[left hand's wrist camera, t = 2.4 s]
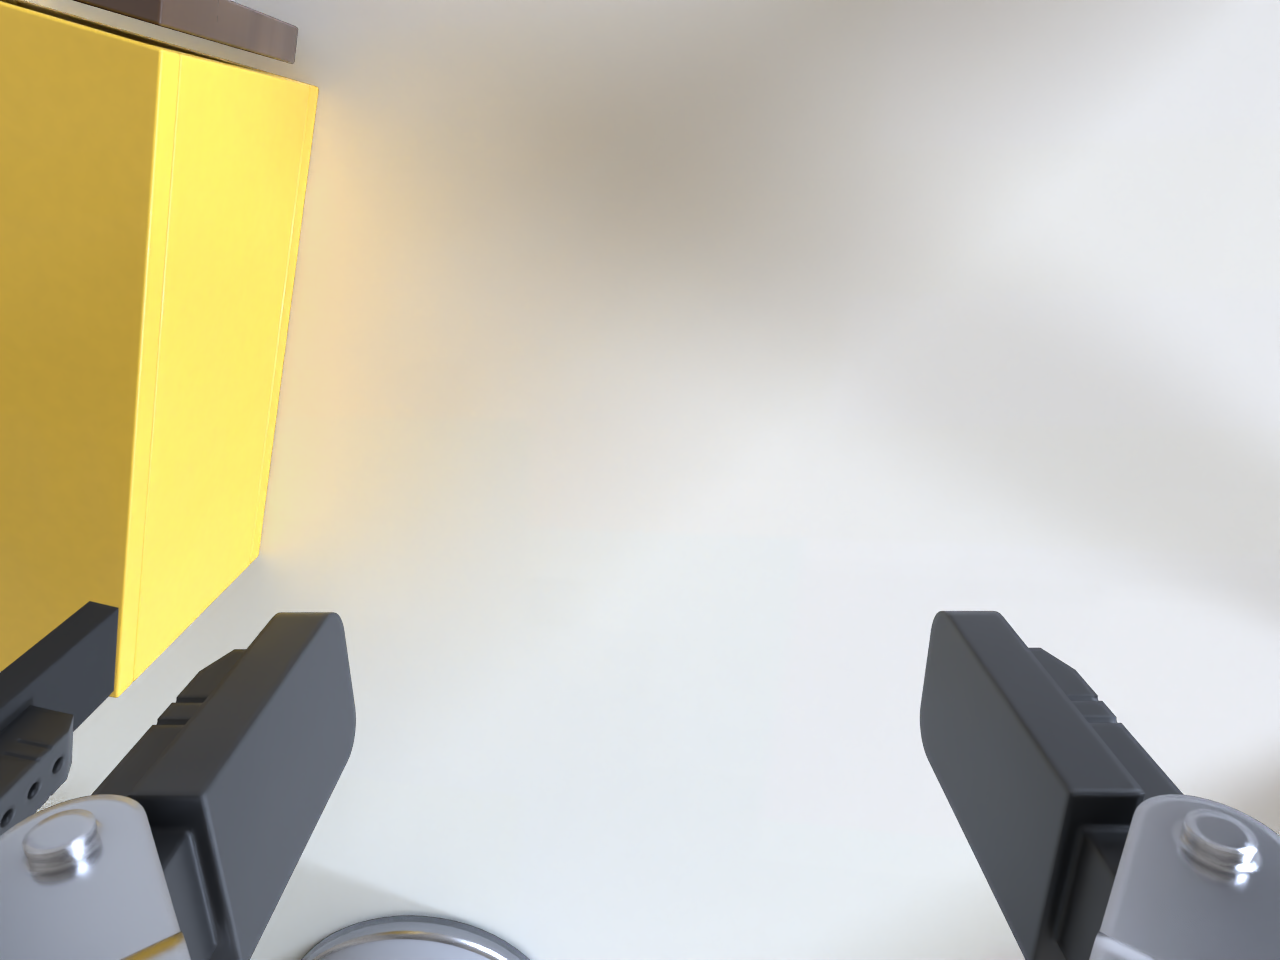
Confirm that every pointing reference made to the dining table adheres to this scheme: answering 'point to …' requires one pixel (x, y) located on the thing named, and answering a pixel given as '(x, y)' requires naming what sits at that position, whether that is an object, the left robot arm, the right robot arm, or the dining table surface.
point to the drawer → (214, 23)
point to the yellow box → (137, 322)
